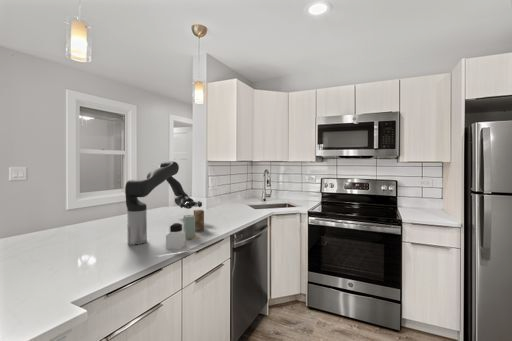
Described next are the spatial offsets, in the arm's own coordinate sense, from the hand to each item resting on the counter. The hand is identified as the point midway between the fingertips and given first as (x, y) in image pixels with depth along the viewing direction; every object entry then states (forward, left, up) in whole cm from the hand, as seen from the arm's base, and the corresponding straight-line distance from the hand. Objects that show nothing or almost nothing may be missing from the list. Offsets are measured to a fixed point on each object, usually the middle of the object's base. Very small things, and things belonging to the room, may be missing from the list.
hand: (193, 206), depth 167 cm
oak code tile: (-9, -23, -13) cm, 28 cm away
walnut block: (0, -11, -13) cm, 17 cm away
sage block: (-9, -23, -13) cm, 28 cm away
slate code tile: (0, -11, -13) cm, 18 cm away
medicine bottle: (-19, -35, -14) cm, 42 cm away
